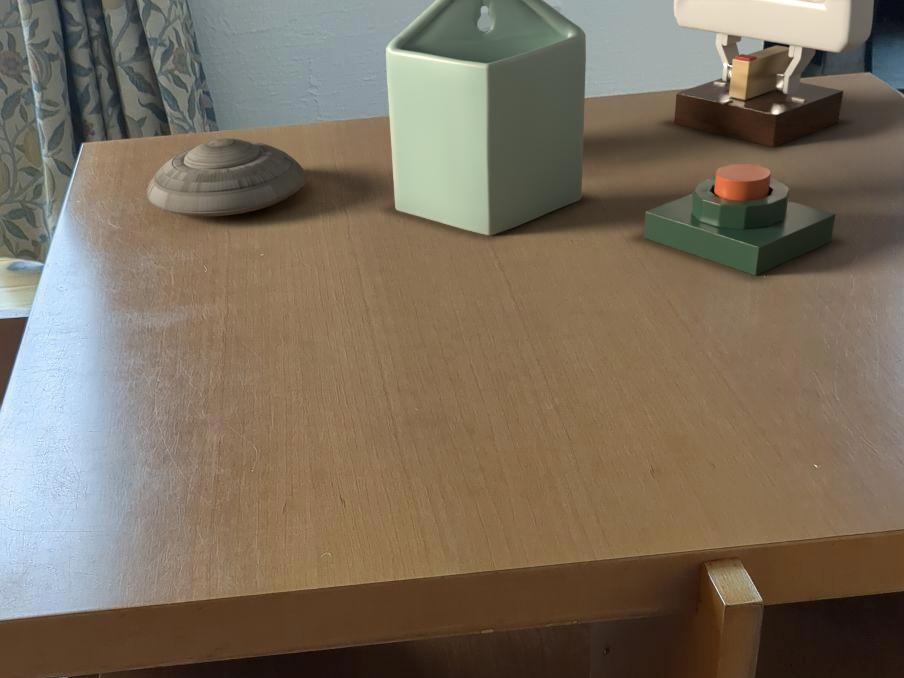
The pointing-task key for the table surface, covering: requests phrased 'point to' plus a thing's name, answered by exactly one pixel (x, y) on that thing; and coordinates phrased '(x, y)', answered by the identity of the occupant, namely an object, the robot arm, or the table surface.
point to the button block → (740, 227)
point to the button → (742, 182)
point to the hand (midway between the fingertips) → (759, 87)
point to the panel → (758, 112)
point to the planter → (487, 113)
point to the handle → (757, 72)
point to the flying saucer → (225, 179)
